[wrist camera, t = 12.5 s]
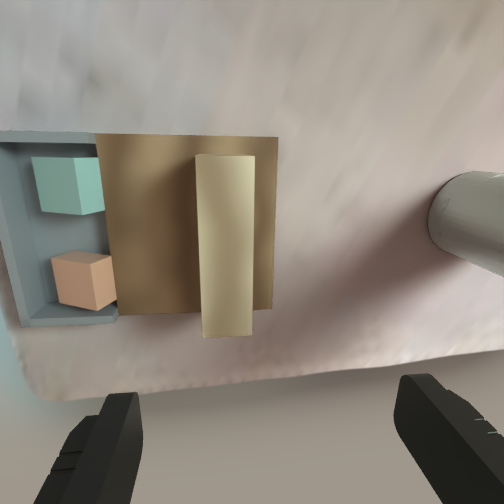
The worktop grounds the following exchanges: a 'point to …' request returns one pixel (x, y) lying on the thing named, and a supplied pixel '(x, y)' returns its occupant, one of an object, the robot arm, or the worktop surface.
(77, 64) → the worktop surface
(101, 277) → the tile
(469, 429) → the robot arm
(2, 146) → the box
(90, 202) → the tile
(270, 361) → the worktop surface
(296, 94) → the worktop surface
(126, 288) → the board
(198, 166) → the cream wooden beam
